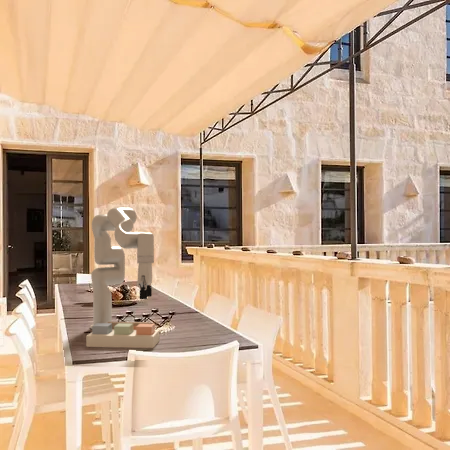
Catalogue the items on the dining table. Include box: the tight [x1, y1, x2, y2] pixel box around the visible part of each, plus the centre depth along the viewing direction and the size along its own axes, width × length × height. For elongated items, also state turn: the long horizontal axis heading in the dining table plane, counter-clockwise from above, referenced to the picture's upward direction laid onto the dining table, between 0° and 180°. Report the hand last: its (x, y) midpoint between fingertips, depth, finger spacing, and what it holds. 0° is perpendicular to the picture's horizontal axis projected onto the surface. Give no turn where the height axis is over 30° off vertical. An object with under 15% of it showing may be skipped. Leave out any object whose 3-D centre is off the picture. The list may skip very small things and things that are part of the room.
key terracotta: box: [136, 323, 156, 335], centre depth 230 cm, size 7×7×4 cm
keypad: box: [85, 321, 161, 349], centre depth 232 cm, size 30×17×8 cm, turn 86°
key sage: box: [114, 323, 133, 335], centre depth 231 cm, size 7×7×4 cm
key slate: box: [91, 323, 112, 334], centre depth 232 cm, size 7×7×4 cm
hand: (145, 297), depth 230 cm, fingers open, 9 cm apart
